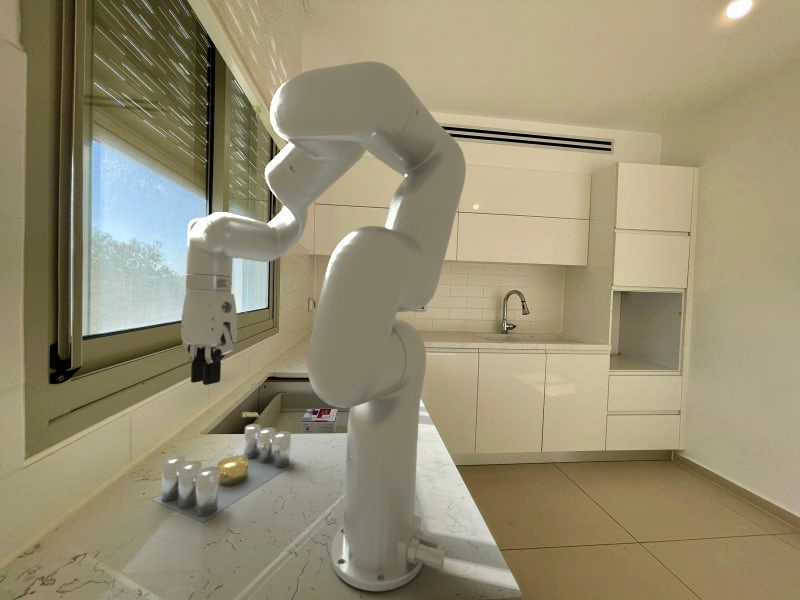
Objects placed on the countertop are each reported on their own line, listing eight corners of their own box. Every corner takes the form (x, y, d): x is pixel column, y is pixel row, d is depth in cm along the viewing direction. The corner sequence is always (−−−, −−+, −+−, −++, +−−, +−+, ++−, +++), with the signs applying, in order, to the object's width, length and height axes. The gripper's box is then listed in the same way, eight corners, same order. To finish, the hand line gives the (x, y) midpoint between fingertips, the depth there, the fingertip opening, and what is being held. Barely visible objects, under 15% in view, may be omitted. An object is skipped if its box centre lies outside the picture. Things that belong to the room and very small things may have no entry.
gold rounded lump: (253, 475, 61) (254, 459, 61) (230, 489, 56) (231, 472, 56) (234, 469, 63) (234, 453, 63) (210, 482, 58) (210, 465, 58)
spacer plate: (296, 465, 66) (296, 462, 66) (203, 526, 48) (203, 522, 48) (252, 452, 71) (252, 449, 71) (151, 503, 53) (151, 499, 53)
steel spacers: (292, 462, 66) (294, 432, 66) (204, 519, 49) (205, 478, 49) (252, 451, 70) (253, 422, 70) (157, 498, 53) (158, 461, 53)
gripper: (256, 287, 63) (253, 383, 63) (199, 285, 69) (195, 373, 69) (221, 285, 56) (217, 393, 56) (161, 283, 62) (157, 380, 62)
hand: (205, 381), depth 63 cm, fingers open, 2 cm apart
